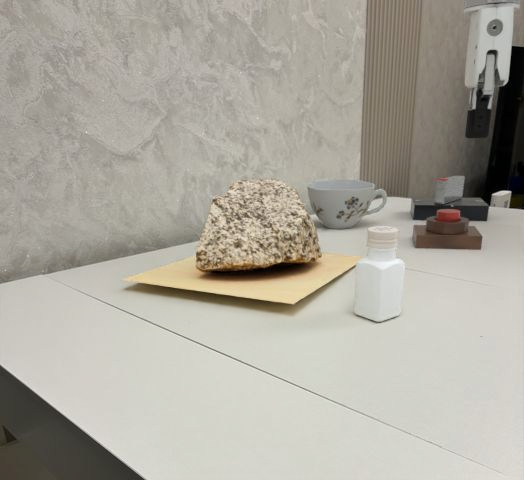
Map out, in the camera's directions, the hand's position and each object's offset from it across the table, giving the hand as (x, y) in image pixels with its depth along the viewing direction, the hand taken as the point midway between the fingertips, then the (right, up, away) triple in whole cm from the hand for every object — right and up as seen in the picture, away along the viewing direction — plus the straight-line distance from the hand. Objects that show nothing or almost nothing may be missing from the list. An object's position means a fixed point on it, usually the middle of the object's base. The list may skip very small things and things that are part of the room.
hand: (476, 137), depth 86 cm
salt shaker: (-21, -30, -25) cm, 44 cm away
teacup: (-18, -10, +20) cm, 28 cm away
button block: (-3, -16, +5) cm, 17 cm away
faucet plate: (+4, -6, +27) cm, 28 cm away
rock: (-35, -23, -9) cm, 42 cm away
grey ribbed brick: (+4, -3, +26) cm, 26 cm away
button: (-3, -12, +4) cm, 13 cm away
